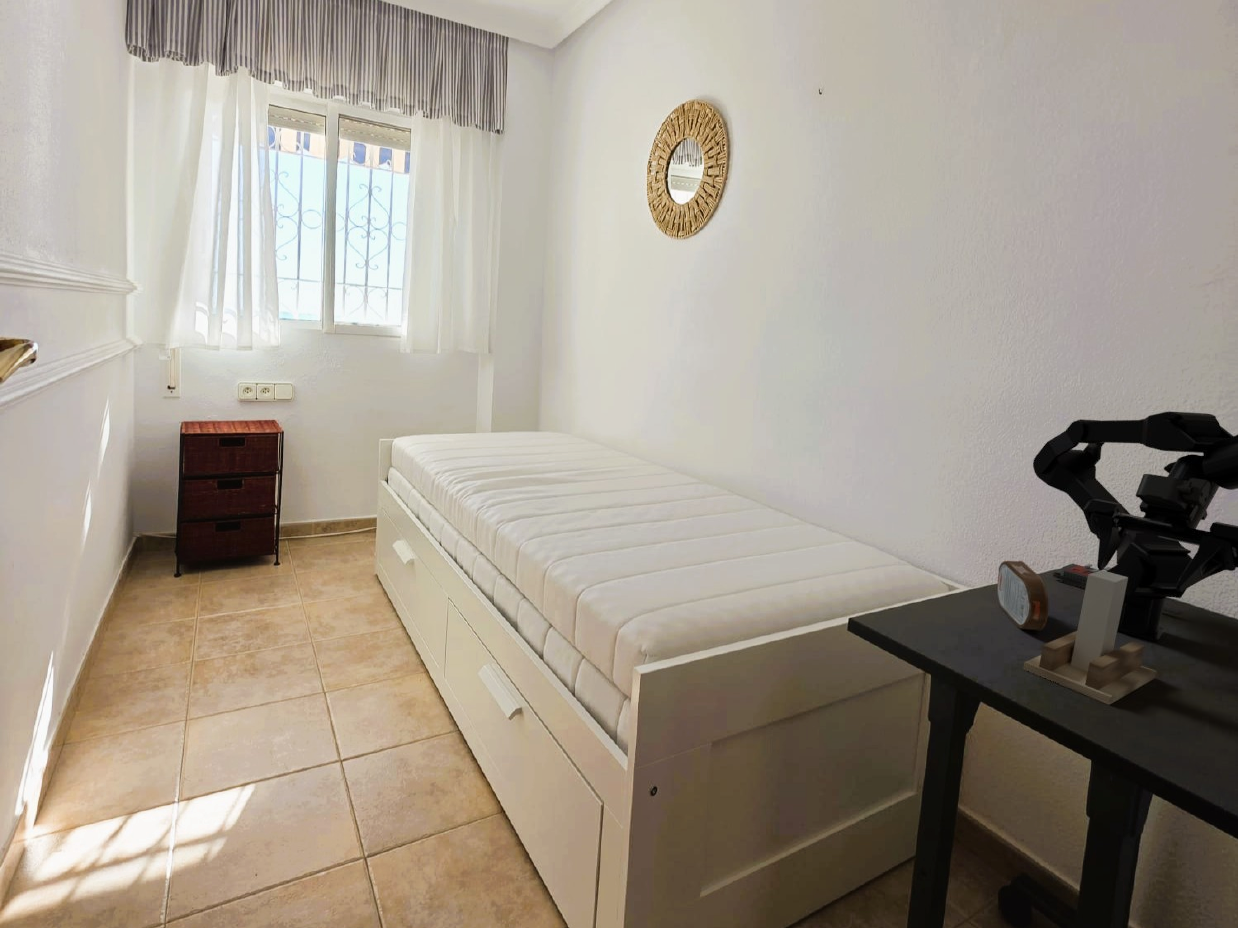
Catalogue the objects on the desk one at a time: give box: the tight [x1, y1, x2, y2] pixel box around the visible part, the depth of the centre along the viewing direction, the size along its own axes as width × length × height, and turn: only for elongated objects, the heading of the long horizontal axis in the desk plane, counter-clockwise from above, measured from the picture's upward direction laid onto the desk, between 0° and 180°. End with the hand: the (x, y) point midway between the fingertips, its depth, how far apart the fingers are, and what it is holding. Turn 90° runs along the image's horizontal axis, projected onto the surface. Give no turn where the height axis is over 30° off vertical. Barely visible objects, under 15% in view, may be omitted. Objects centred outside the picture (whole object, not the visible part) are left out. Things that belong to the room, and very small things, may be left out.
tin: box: [996, 560, 1049, 632], centre depth 108 cm, size 15×3×8 cm, turn 168°
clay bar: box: [1071, 570, 1128, 672], centre depth 90 cm, size 4×3×12 cm
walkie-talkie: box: [1052, 563, 1183, 616], centre depth 122 cm, size 9×4×20 cm
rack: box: [1022, 630, 1157, 705], centre depth 90 cm, size 14×10×4 cm
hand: (1137, 578), depth 93 cm, fingers open, 9 cm apart
